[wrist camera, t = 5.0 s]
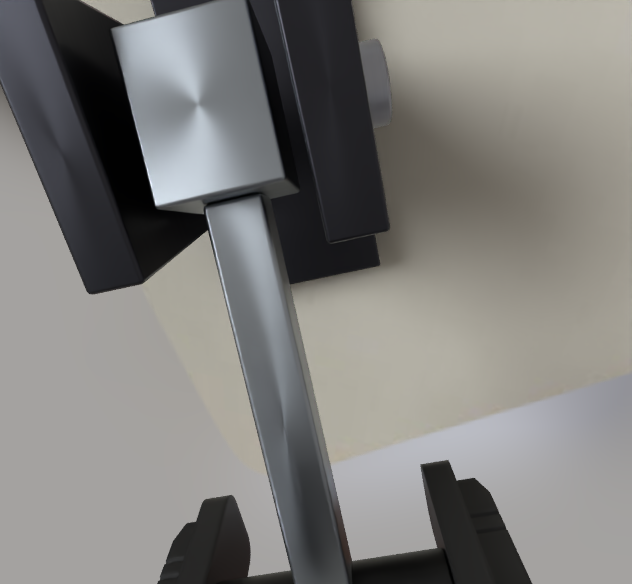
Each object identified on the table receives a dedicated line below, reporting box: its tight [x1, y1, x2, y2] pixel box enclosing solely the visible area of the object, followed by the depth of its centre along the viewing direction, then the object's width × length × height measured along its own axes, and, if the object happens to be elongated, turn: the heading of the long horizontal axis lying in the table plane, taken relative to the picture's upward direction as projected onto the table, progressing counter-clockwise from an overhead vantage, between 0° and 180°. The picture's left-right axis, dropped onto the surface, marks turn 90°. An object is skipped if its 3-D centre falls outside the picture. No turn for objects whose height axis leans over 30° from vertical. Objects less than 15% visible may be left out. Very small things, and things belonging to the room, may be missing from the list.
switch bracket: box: [0, 0, 392, 294], centre depth 12 cm, size 12×6×12 cm, turn 13°
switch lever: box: [110, 0, 454, 584], centre depth 9 cm, size 12×5×2 cm, turn 12°
